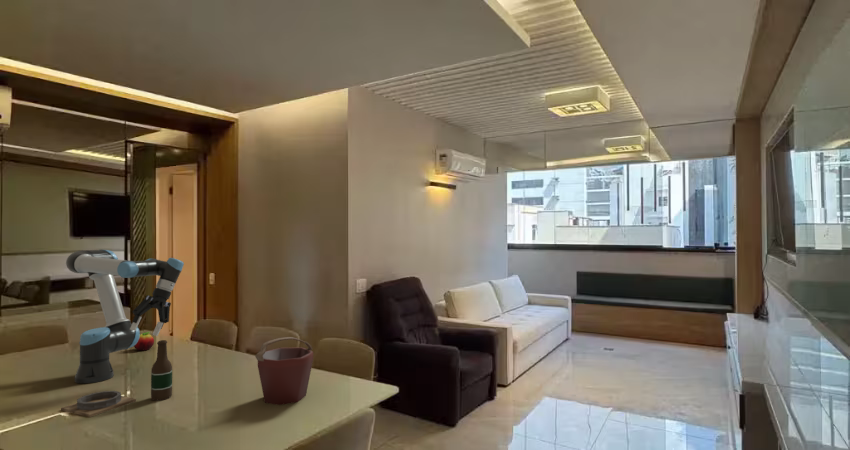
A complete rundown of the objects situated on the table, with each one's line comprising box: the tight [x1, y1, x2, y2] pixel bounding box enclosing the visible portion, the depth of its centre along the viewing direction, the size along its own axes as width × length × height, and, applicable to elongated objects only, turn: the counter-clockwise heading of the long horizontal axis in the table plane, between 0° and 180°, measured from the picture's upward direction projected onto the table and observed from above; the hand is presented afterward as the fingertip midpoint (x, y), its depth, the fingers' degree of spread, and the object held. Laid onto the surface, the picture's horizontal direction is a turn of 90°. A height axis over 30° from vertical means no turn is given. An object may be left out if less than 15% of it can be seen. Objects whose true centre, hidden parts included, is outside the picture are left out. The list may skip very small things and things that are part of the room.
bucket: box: [254, 336, 314, 406], centre depth 194 cm, size 24×22×25 cm
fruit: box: [133, 331, 155, 352], centre depth 277 cm, size 11×11×10 cm
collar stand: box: [60, 390, 137, 418], centre depth 185 cm, size 18×18×4 cm
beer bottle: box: [150, 339, 173, 401], centre depth 194 cm, size 8×8×24 cm
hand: (143, 333), depth 214 cm, fingers open, 13 cm apart
